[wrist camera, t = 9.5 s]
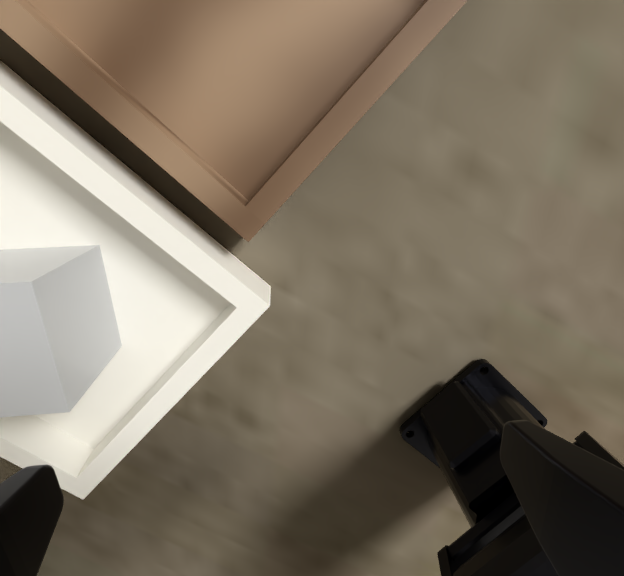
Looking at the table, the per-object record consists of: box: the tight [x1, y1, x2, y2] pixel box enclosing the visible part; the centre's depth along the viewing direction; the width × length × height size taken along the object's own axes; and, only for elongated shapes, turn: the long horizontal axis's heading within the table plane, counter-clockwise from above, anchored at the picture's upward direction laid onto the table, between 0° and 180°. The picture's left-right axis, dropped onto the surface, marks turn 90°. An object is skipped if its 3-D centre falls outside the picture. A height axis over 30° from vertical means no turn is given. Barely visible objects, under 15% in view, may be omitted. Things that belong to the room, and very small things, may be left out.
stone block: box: [0, 245, 122, 417], centre depth 15 cm, size 5×5×5 cm
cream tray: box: [0, 60, 271, 499], centre depth 17 cm, size 14×14×2 cm
